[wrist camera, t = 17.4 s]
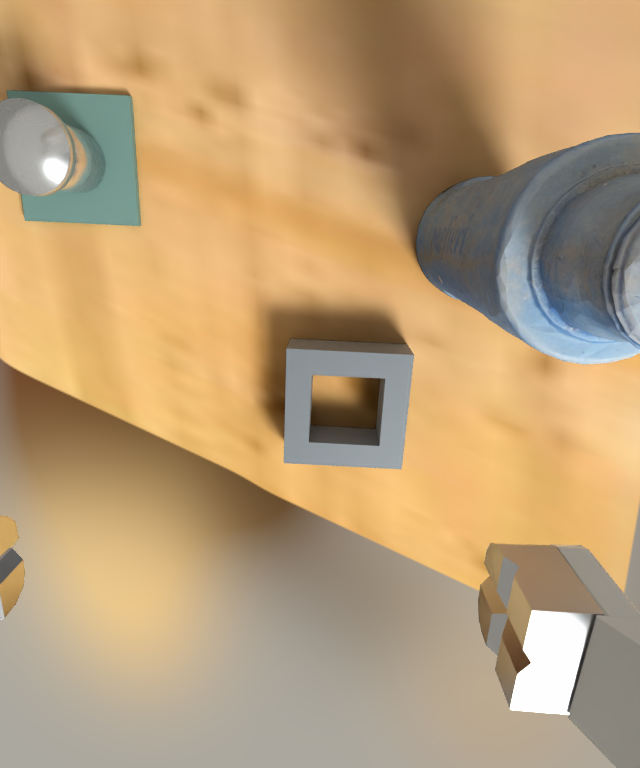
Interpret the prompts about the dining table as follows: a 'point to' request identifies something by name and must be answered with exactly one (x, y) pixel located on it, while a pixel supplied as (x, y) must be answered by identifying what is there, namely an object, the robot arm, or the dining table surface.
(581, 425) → the dining table surface
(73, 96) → the mat
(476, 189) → the bottle
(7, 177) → the end cover
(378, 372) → the housing
